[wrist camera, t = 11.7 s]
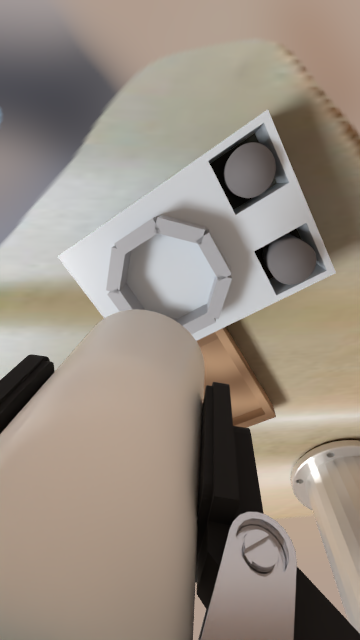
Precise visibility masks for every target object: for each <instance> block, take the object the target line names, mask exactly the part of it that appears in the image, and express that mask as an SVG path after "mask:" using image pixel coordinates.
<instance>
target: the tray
mask: <svg viewBox="0 0 360 640" xmlns="http://www.w3.org/2000/svg"><path fill="white" fill-rule="evenodd" d="M197 343H198V345H199V347H200V349H201V352H202V354H203V359H204V366H205V373H204V394H205V388H206V385H209V386H212V383H213V382H218V383H224V384H229V386H230V396H231V407H232V419H233V426H238V427H244V428H246V427H249V426H252V425H255V424H257V423H260V422H263V421H266V420H268V419H271V418H274V417H276V415H275V412H274V408H273V405H272V403H271V402H270V400H269V398H268V397H267V395H266V393H265V392H264V390H263V388H262V387H261V385H260V383H259V382H258V380H257V378H256V377H255V375H254V373H253V372H252V370H251V368H250V367H249V365H248V363H247V362H246V360H245V358H244V357H243V355H242V353H241V352H240V350H239V348H238V347H237V345H236V343H235V342H234V340H233V338H232V337H231V335H230V333H229V332H228V330H227V328H226V327H224V328H222V329H220V330H218V331H216V332H214V333H212V334H209V335H207V336H205V337H203V338H201V339H199V340H197ZM203 400H204V396H203Z"/></svg>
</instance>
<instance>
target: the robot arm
mask: <svg viewBox="0 0 360 640" xmlns="http://www.w3.org/2000/svg"><path fill="white" fill-rule="evenodd" d="M53 373H54V364H53V362H50V361H49V358H48V357H45V356H38V355H28V356H27V357H26V358H25V359H24V360H23V361H21V362H20V363H19V364H18V365H17V366H16V367H15V368H14V369H12V370H11V371H10V372H9V373H8V374H7V375H6V376H5V377H3V378H2V379H1V380H0V434H1V433H2V431H3V430H4V429H5V428H6V427H7V426H8V425H9V423H10V422H11V421H12V420H13V419H14V418H15V417H16V415H17V414H18V413H19V412H20V411H21V410H22V409H23V407H24V406H25V405H26V404H27V403H28V402H29V401H30V399H31V398H32V397H33V396H34V395H35V394H36V393H37V391H38V390H39V389H40V388H41V387H42V386H43V385H44V383H45V382H46V381H47V380H48V379H49V378H50V377H51V375H52V374H53ZM291 485H292V488H293V491H294V495H295V496H296V498H297V499H298V500H299V501H300V502H301V503H302V504H303V505H304V506H306V507H307V508H309V509H310V510H313V513H314V516H315V519H316V522H317V526H318V529H319V531H320V535H321V538H322V541H323V544H324V547H325V551H326V554H327V557H328V560H329V563H330V566H331V569H332V572H333V576H334V579H335V581H336V585H337V588H338V591H339V594H340V597H341V600H342V604H343V607H344V610H345V613H346V616H347V619H348V621H347V619H346V618H344V616H343V615H342V614H341V613H340V612H339V611H338V610H337V609H336V608H335V607H334V606H333V604H331V602H330V601H329V600H328V599H327V598H326V597H325V596H324V595H323V594H322V593H321V592H320V591H319V590H318V588H317V587H316V586H315V585H314V584H313V583H312V582H311V581H310V580H309V579H308V578H307V577H306V576H305V575H304V573H303V572H302V571H301V570H299V568H297V561H296V551H295V549H294V546H293V543H292V540H291V539H290V537H289V536H288V534H287V532H286V531H285V529H284V528H283V527H282V526H281V525H280V524H279V523H278V522H277V521H275V520H274V519H272V518H271V517H269V516H267V515H265V514H263V508H262V502H261V495H260V489H259V483H258V476H257V470H256V463H255V457H254V451H253V444H252V438H251V433H250V430H249V428H244V427H238V426H233V419H232V407H231V396H230V386H229V384H224V383H218V382H213V383H212V386H209V385H206V388H205V394H204V400H203V407H202V428H201V449H200V471H199V492H198V513H197V525H198V531H197V554H196V576H195V582H197V595H198V597H199V598H200V600H201V601H202V603H203V604H204V606H205V607H206V612H205V616H204V619H203V623H202V627H201V631H200V635H199V638H198V640H360V441H358V440H342V441H335V442H331V443H327V444H324V445H321V446H319V447H316V448H314V449H312V450H311V451H309V452H308V453H306V454H305V455H304V456H302V457H301V458H300V459H299V460H298V462H297V463H296V464H295V466H294V468H293V470H292V472H291Z"/></svg>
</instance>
